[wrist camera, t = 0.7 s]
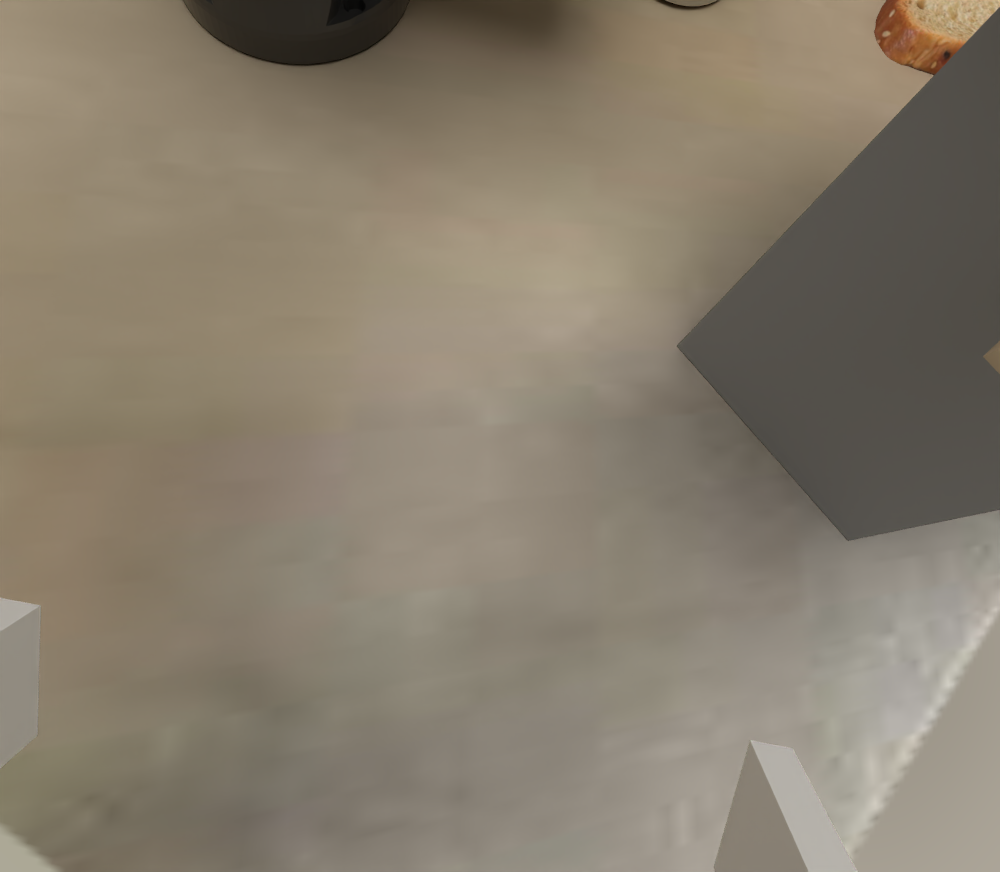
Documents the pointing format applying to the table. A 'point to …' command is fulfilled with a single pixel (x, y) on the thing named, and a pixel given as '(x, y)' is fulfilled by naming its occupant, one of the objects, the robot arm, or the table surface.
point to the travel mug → (691, 2)
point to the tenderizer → (994, 357)
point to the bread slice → (929, 29)
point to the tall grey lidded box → (883, 318)
